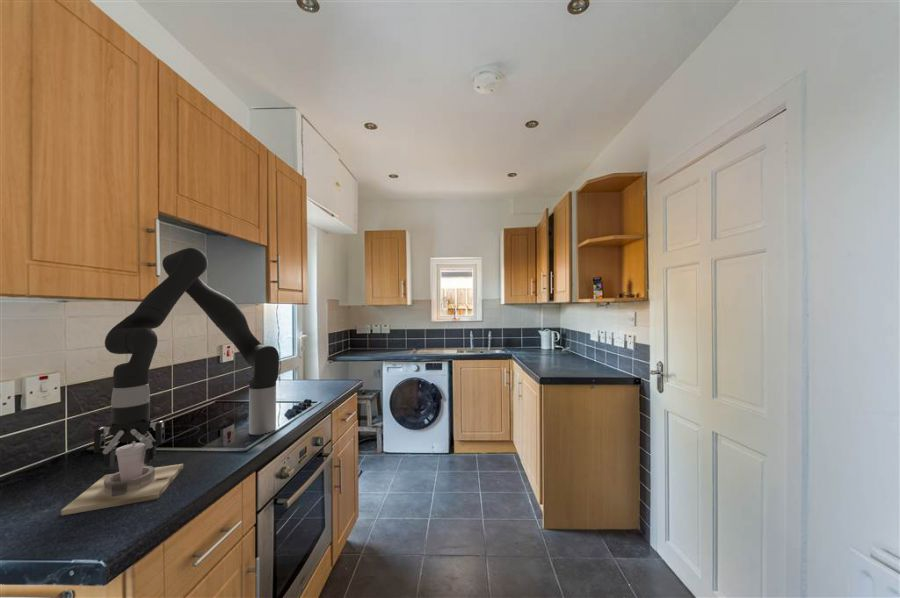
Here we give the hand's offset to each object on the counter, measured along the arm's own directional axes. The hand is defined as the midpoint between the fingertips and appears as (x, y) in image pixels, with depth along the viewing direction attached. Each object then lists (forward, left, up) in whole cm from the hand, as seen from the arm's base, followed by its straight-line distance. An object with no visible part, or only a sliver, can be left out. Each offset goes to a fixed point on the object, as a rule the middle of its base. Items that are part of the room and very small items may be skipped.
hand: (130, 463), depth 91 cm
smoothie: (0, 0, -6) cm, 6 cm away
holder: (0, 0, -7) cm, 7 cm away
